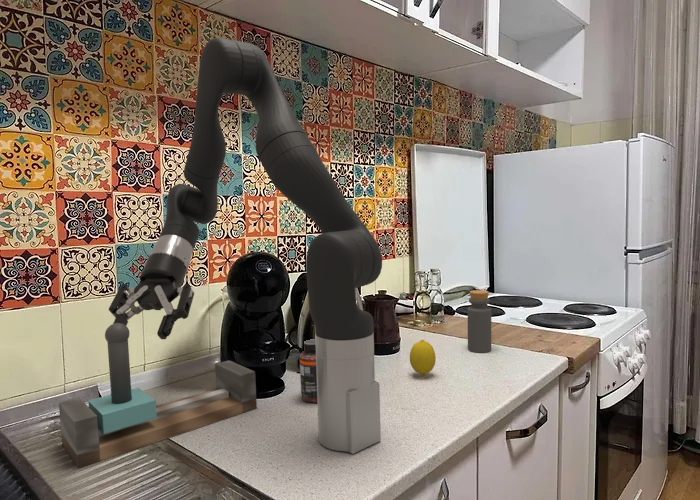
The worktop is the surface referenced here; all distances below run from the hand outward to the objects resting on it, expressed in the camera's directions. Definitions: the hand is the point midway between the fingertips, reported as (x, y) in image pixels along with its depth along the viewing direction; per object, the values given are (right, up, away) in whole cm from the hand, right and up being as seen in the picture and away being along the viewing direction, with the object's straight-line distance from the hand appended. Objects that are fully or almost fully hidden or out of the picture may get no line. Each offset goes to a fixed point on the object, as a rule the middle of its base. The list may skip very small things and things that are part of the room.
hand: (138, 336), depth 85 cm
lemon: (+53, -13, +22) cm, 58 cm away
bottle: (+70, -11, +40) cm, 81 cm away
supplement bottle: (+30, -14, +11) cm, 35 cm away
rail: (+5, -15, 0) cm, 16 cm away
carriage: (-1, -12, -5) cm, 13 cm away
